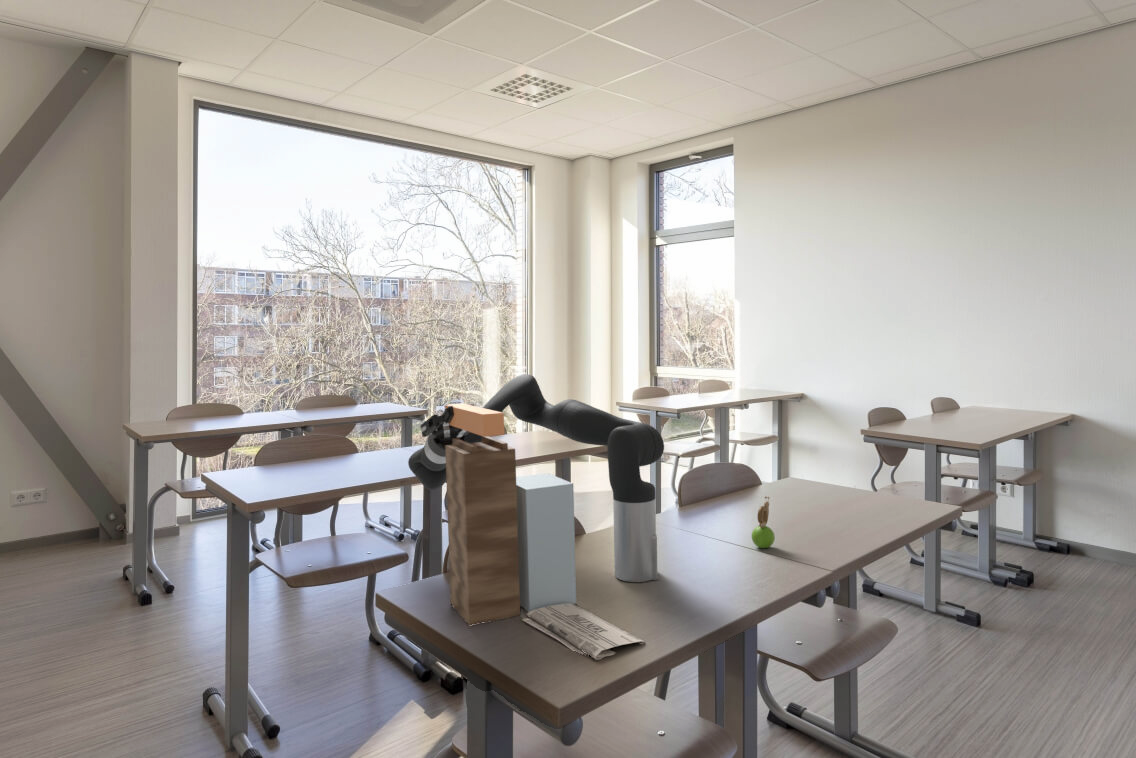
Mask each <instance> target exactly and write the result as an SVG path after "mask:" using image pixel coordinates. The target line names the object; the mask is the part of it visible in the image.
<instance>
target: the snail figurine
mask: <svg viewBox="0 0 1136 758" xmlns="http://www.w3.org/2000/svg"><path fill="white" fill-rule="evenodd" d="M770 498H771V497H770V496H764V499H768V501H767V500H765V501H764V503H763V505H761V506H760V507H759V508H758V510H757V521H758V523H759V524H758V526H756V527H754V529H753V530H752V533H751V540H752V542H753V544H754V545H755V546H756V547H758V548H760V549H768V548H770V547H771V546H772V545H774V542H775V539H776V538H775V537H776V536H775V532H774V531H773V530H772V528H771V527H769V526H767V523H768V521H769V513H770V509H769V508H770V503H769V501H770Z"/></svg>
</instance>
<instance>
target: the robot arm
mask: <svg viewBox="0 0 1136 758" xmlns="http://www.w3.org/2000/svg"><path fill="white" fill-rule="evenodd" d="M469 405H472V406H476V405H475V404H474V403H471V404H469ZM508 406H509V408H510V410H511V412H512V414H513V416H514V417H515V418H517V420H520V421H522V422H524V423H528V424H533V425H535V426H539V427H542V428H545V429H548V430H550V431H552V432H554V433H556V434H557V433H558V434H559V435H561V436H563V437H566V439H567V438H568V439H570V440H572V441H574V442H578V443H581V444H587V445H594V446H600V447H601V446H602V447H606V448H607V450H606V451H607V465H608V477H609V478H608V479H609V484H610V487H611V491H612V500H613V502H612V503H613V505H612V506H613V507H612V508H613V509H612V510H613V545H614V546H613V552H614V553H613V555H614V557H613V558H614V560H613V561H614V565H613V566H614V567H613V568H614V577H615V578H616V579H618V580H620V581H624V582H629V583H643V582H649V581H653V580H654V581H656V580H658V536H657V514H656V512H657V511H656V509H657V508H656V507H657V506H656V503H657V502H656V501H657V500H656V487H655V485H654V484H653V483H651V482H648V481H644V480H643V479H642V476H641V468H640V467H645V466H646V467H647V466H649V465H652V464H654V463H655V462H657V461H658V460H660V458H662V456H663V454H664V451H665V444H664V440H663V437H662V435H661V434H660V432H659V431H658V430H657V428H655V427H654V426H653V425H650V424H648V423H644V422H639V421H634V420H630V419H626V418H622V417H619V416H617V415H614V414H612V413H609V412H608V411H604V410H603V409H600V408H597V407H595V406H592V405H590V404H587V403H585V402H582V401H579V400H577V399H576V400H575V399H570V398H569V399H565V400H562V401H560V402H558V403H556V404H551V403H550V402H548V401H547V400H546V399H545V397H544V395H543V392H542V391H541V388H540V385H539V383H538V381H537V379H536V378H535V377H534V376H533V375H532V374H529V373H528V374H526V373H524V374H521V375H518V376H515V377H513V378H512V379H510V380H509V381H508V382H506V383H505V384H504V385H503V386H502V387H500V389H499V390H498V391H497V392H496V393H495V394H494V395H493V396H492V397H491V398H490V399H489V400H488V401H487V402H486V403H485V404H484V405H483V407H482V408H485V409H489V410H494V411H498V412H502V413H503V411H505V409H506V408H507V407H508ZM453 416H454V411H453V406H449V407H448V408H446V409H445V408H444V411H443V412H442V413H441V414H440V415H438V414H432V415H431V416H430V417H429V418H428V419H427V420H425V421H424V422H423V423H422V424H420V433H421V437H423V438H425V437H426V439H425V443H424V446H423V447H421V448H419V449H417V450H416V451H414V452H413V453H412V454H411V455H410V457H409V458H408V461H407V462H408V468H409V469H410V470H409V471H411V472H412V473H413V475H414V476H415V477H416V478H417V480H419V482H420V483H421V484H422V486H423V487H424V488H425V489H426V490H428V491H436V490H439V489H440V488H442V487H443V486H444V485H445V483H447V481H446V453H445V445H453V441H452V439H454V438H458V439H461V440H463V441H465V442H468V443H475V442H481V436H480V435H477V434H474V433H471V432H469V431H466V430H463V429H460V428H457V427H454V426H451V425H449V422H450V421H451V420H452V418H453Z"/></svg>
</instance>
